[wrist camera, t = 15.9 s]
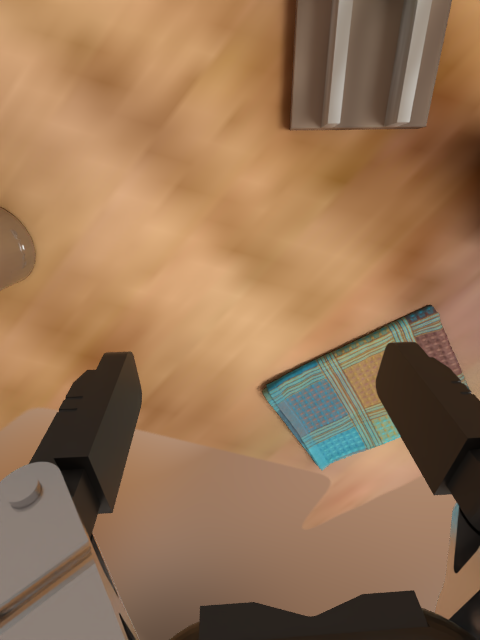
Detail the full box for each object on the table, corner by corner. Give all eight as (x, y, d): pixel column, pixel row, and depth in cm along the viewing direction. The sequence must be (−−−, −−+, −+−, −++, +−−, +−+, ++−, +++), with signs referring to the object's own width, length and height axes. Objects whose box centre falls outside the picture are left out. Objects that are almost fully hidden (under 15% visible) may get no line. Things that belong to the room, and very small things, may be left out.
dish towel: (258, 382, 44) (258, 394, 42) (428, 299, 38) (439, 308, 35) (315, 461, 50) (318, 475, 47) (471, 400, 43) (483, 413, 41)
